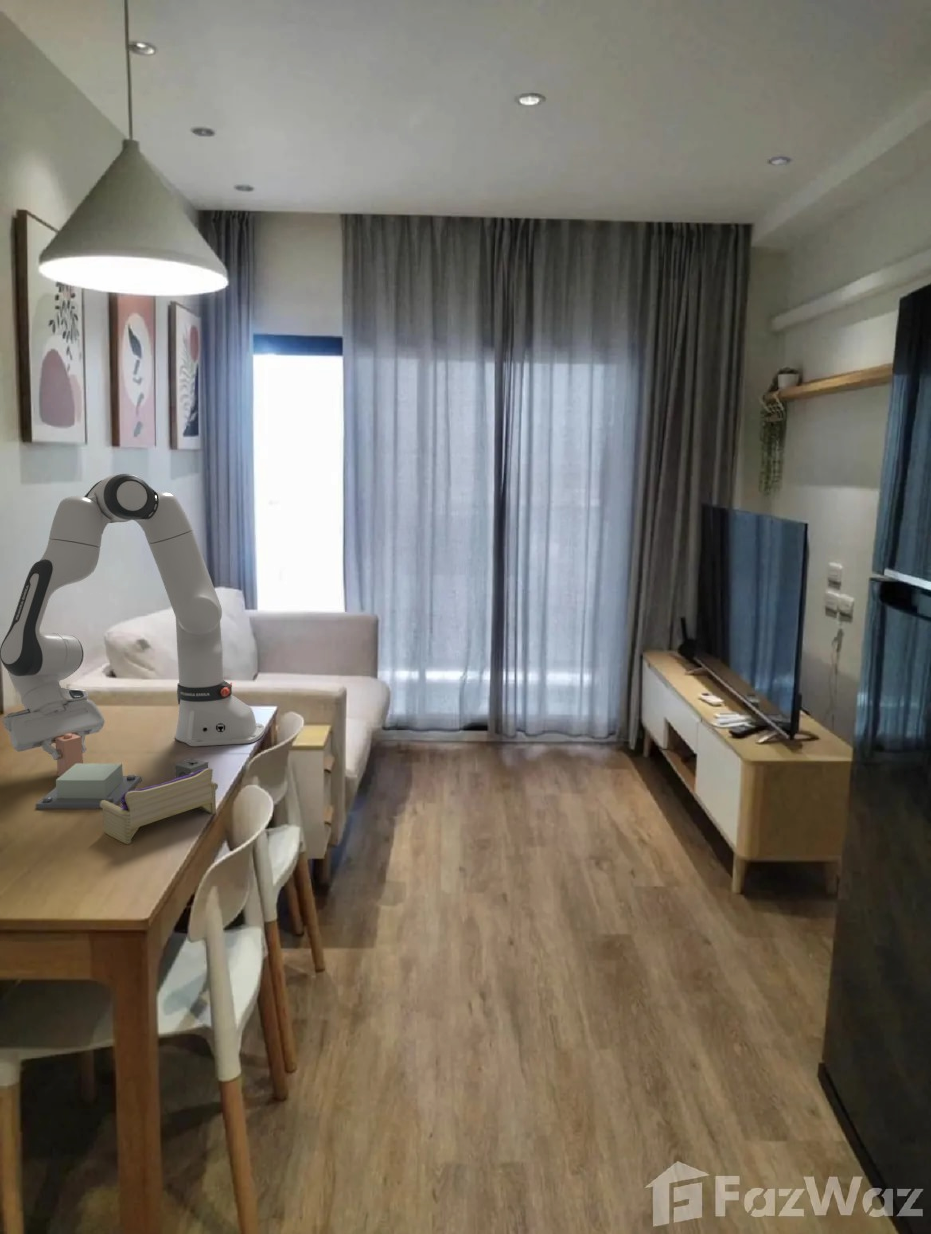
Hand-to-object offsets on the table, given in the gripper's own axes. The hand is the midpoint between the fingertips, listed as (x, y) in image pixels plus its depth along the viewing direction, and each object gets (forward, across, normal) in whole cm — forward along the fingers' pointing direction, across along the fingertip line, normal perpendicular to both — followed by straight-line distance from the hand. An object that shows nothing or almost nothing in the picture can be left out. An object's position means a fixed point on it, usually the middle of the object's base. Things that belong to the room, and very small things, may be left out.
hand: (70, 755), depth 194 cm
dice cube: (+21, +14, -14) cm, 29 cm away
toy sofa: (+30, -1, -23) cm, 38 cm away
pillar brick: (+3, 0, +4) cm, 5 cm away
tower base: (+13, -3, -6) cm, 14 cm away
